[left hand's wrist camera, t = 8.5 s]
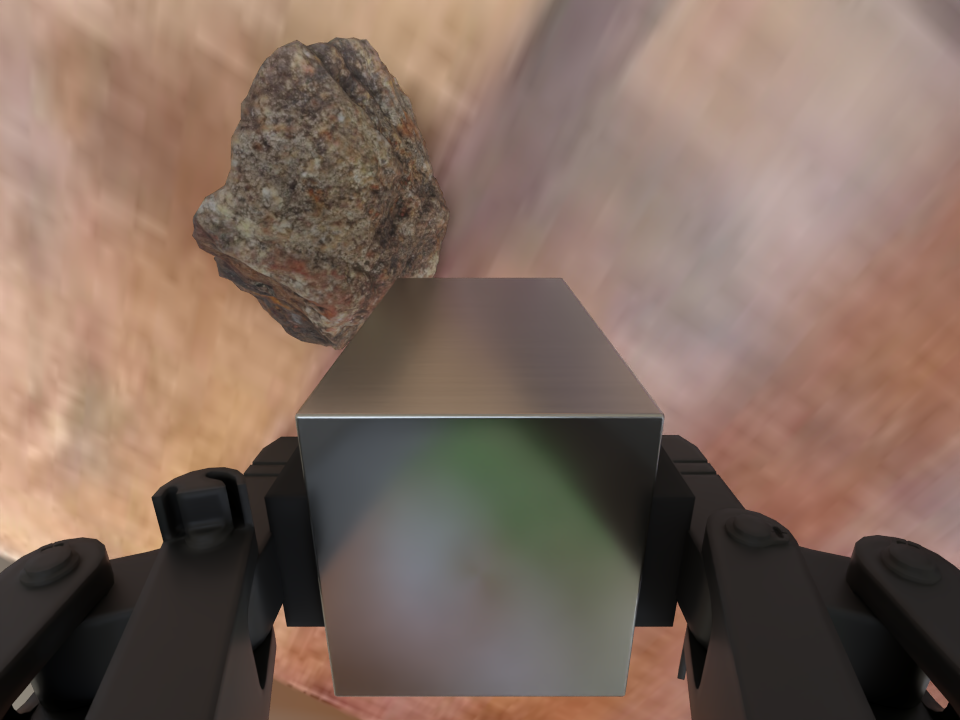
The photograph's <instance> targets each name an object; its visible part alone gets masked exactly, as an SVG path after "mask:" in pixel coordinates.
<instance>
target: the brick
mask: <svg viewBox="0 0 960 720" xmlns="http://www.w3.org/2000/svg"><path fill="white" fill-rule="evenodd" d="M295 419H296V426H297V434H298V441H299V448H300V455H301V462H302V469H303V476H304V483H305V490H306V497H307V504H308V511H309V518H310V525H311V532H312V539H313V546H314V553H315V560H316V567H317V574H318V581H319V588H320V595H321V602H322V609H323V616H324V623H325V630H326V637H327V644H328V651H329V659H330V666H331V673H332V680H333V687H334V694H335V696H624V695H625V691H626V684H627V677H628V670H629V663H630V656H631V649H632V642H633V635H634V628H635V621H636V614H637V607H638V600H639V593H640V586H641V579H642V572H643V565H644V558H645V551H646V544H647V537H648V529H649V522H650V515H651V508H652V501H653V494H654V487H655V480H656V473H657V466H658V459H659V452H660V445H661V438H662V431H663V424H664V414H663V413H662V411H661V410H660V409H659V407H658V406H657V405H656V403H655V402H654V400H653V399H652V398H651V396H650V395H649V394H648V392H647V391H646V390H645V388H644V387H643V386H642V384H641V383H640V382H639V380H638V379H637V378H636V376H635V375H634V374H633V372H632V371H631V370H630V368H629V367H628V366H627V364H626V363H625V362H624V360H623V359H622V358H621V356H620V355H619V354H618V352H617V351H616V349H615V348H614V347H613V345H612V344H611V343H610V341H609V340H608V339H607V337H606V336H605V335H604V333H603V332H602V331H601V329H600V328H599V327H598V325H597V324H596V323H595V321H594V320H593V319H592V317H591V316H590V315H589V313H588V312H587V311H586V309H585V308H584V307H583V305H582V304H581V303H580V301H579V300H578V298H577V297H576V296H575V294H574V293H573V292H572V290H571V289H570V288H569V286H568V285H567V284H566V282H565V281H564V280H563V278H397V279H396V281H395V282H394V284H393V285H392V286H391V288H390V289H389V290H388V292H387V293H386V294H385V296H384V297H383V298H382V300H381V301H380V302H379V304H378V305H377V306H376V308H375V309H374V310H373V312H372V313H371V314H370V316H369V317H368V318H367V320H366V321H365V322H364V324H363V325H362V326H361V328H360V329H359V330H358V332H357V333H356V334H355V336H354V337H353V338H352V340H351V341H350V342H349V344H348V345H347V346H346V348H345V349H344V350H343V352H342V353H341V354H340V356H339V357H338V358H337V360H336V361H335V363H334V364H333V365H332V367H331V368H330V369H329V371H328V372H327V373H326V375H325V376H324V377H323V379H322V380H321V381H320V383H319V384H318V385H317V387H316V388H315V389H314V391H313V392H312V393H311V395H310V396H309V397H308V399H307V400H306V401H305V403H304V404H303V405H302V407H301V408H300V409H299V411H298V412H297V413H296V416H295Z"/></svg>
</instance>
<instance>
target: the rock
mask: <svg viewBox="0 0 960 720" xmlns="http://www.w3.org/2000/svg"><path fill="white" fill-rule="evenodd" d="M448 220H449V210H448V208H447V207H446V206H445V200H444V198H443V193H442V191H441V190H440V187H439V185H438V183H437V180H436V178H434V177H433V172H432V167H431V164H430V161H429V156H428V153H427V149H426V146H425V141H424V139H423V138H422V136H421V133H420V131H419V129H418V128H417V124H416V120H415V116H414V113H413V110H412V105H411V102H410V99H409V97H408V96H407V95H406V94H405V93H404V92H403V91H402V89H401V88H400V86H399V84H398V82H397V80H396V78H395V77H394V76H393V75H391V74H390V73H389V71H388V69H387V67H386V65H385V64H384V63H383V62H381V60H380V58H379V55H378V53H377V51H376V50H375V49H374V48H373V47H372V46H371V45H370V44H369V42H368V41H367V40H359V39H357V38H354V37H353V38H348V39H344V38H335V39H333V40H331V41H330V42H328V43H316V44H312V45H309V46H305V45H304V44H302V43H301V42H299V41H298V40H296V41H294V42H291V43H289V44H287V45H284V46H282V47H280V48H278V49H277V50H276V51H275V52H274V53H273V54H272V55H271V56H270V57H268V58H267V59H266V60H265V61H264V63H263V64H262V66H261V67H260V69H259V71H258V73H257V75H256V77H255V79H254V81H253V83H252V86H251V88H250V90H249V93H248V95H247V97H246V98H245V99H244V101H243V102H242V103H241V120H240V122H239V124H238V126H237V128H236V130H235V132H234V134H233V136H232V142H231V170H230V172H229V175H228V178H227V181H226V184H225V186H223V187H222V188H220V189H219V190H217V191H215V192H214V193H212V194H211V195H209V196H207V197H205V199H204V201H203V202H202V204H201V206H200V207H199V209H198V211H197V212H196V214H195V215H194V217H193V224H194V232H193V237H194V238H195V240H196V241H197V244H198V246H199V248H201V249H202V250H204V251H206V252H208V253H210V254H212V255H214V256H215V257H214V259H215V261H216V263H217V267H218V272H219V276H220V277H223V278H226V279H229V280H231V281H232V282H233V283H234V284H235V285H236V286H237V287H238V288H239V289H240V290H242V291H245V292H248V293H250V294H252V295H253V296H255V297H256V298H257V299H258V301H259V303H260V304H261V306H262V307H263V309H265V310H266V311H267V312H268V313H269V314H270V315H271V317H273V318H274V319H275V320H276V321H278V322H279V323H280V324H281V325H282V327H283V328H284V329H285V331H286V332H287V333H288V334H289V335H291V336H293V337H295V338H297V339H299V340H301V341H304V342H309V343H315V344H321V345H324V346H332V347H333V348H334V349H335V350H337V349H342V348H344V347H345V346H346V345H347V344H348V342H349V341H351V340H352V338H353V337H354V336H355V334H356V333H357V332H358V330H359V329H360V328H361V326H362V325H363V324H364V322H365V321H366V320H367V318H368V317H369V316H370V314H371V313H372V312H373V310H374V309H375V308H376V306H377V305H378V304H379V302H380V301H381V300H382V298H383V297H384V296H385V294H386V293H387V292H388V290H389V289H390V288H391V286H392V285H393V284H394V282H395V281H396V279H397V278H433V276H434V274H435V273H436V266H437V264H438V263H439V253H440V249H441V243H442V241H443V238H444V236H445V233H446V229H447V224H448Z"/></svg>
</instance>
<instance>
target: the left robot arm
mask: <svg viewBox="0 0 960 720" xmlns="http://www.w3.org/2000/svg"><path fill="white" fill-rule="evenodd" d="M152 501H153V505H154V508H155V512H156V516H157V520H158V523H159V527H160V531H161V534H162V538H163V544H162V546H161V548H160V549H157V550H153V551H149V552H145V553H140V554H135V555H130V556H126V557H121V558H116V559H111V560H109V557H108V554H107V551H106V548H105V545H104V544H102V543H101V542H100V541H98V540H97V539H91V538H83V537H82V538H75V539H67V540H62V541H58V542H55V543H53V544H52V543H51V544H48V545H45V546H42V547H40V548H39V549H37V550H35V551H33V552H31V553H29V554H27V555H25V556H23V557H21V558H20V559H18V560H17V561H16V562H14V563H13V564H12V565H10V566H9V567H7V568H6V569H5V570H4V571H2V572H1V573H0V720H268V719H269V710H270V701H271V691H272V682H273V673H274V664H275V655H276V640H275V633H274V628H273V623H274V621H275V619H276V617H277V615H278V612H279V610H280V608H281V606H282V604H283V607H284V613H285V618H286V624H287V627H325V623H324V616H323V609H322V602H321V595H320V588H319V581H318V574H317V567H316V560H315V553H314V546H313V539H312V532H311V525H310V518H309V511H308V504H307V497H306V490H305V483H304V476H303V469H302V462H301V455H300V448H299V441H298V437H280V438H279V439H277V440H275V441H274V442H272V443H271V444H269V445H268V446H266V447H265V448H263V449H262V451H261V452H260V453H259V454H258V456H257V457H256V458H255V460H254V461H253V464H252V465H250V466H249V467H248V469H247V470H246V471H245V473H244V475H243V474H242V473H240V472H239V471H238V470H235V469H230V468H226V467H219V468H206V469H202V470H197V471H192V472H189V473H187V474H184V475H182V476H179V477H177V478H174V479H173V480H171V481H170V482H168V483H166V484H165V485H163V486H162V487H160V488H159V489H158V491H157V492H156V493H155V494H154V495H153V496H152ZM677 602H678V604H679V606H680V608H681V611H682V613H683V615H684V617H685V619H686V622H687V628H686V633H685V639H684V644H683V649H682V655H681V660H680V665H679V671H678V679H683V680H684V679H685V674H686V672H687V681H688V690H689V699H690V708H691V718H692V720H960V570H959V569H958V568H956V567H955V566H954V565H953V564H951V563H950V562H948V561H947V560H945V559H944V558H943V557H941V556H940V555H938V554H937V553H934V552H932V551H930V550H928V549H926V548H924V547H922V546H921V545H919V544H916V543H914V542H911V541H906V540H904V539H900V538H896V537H888V536H881V535H875V536H867V537H863V538H861V539H860V540H859V541H858V542H856V544H855V547H854V550H853V553H852V556H851V558H850V557H845V556H840V555H835V554H831V553H826V552H821V551H816V550H811V549H808V548H804V547H800V546H799V545H798V543H797V541H796V539H795V538H794V537H793V535H792V534H791V533H790V531H789V530H788V529H786V528H785V527H784V526H782V525H781V524H780V523H778V522H777V521H776V520H773V519H771V518H769V517H767V516H765V515H763V514H760V513H757V512H753V511H749V510H746V509H745V508H744V507H743V506H742V504H741V503H740V502H739V500H738V499H737V498H736V497H735V495H734V494H733V493H732V491H731V490H730V489H729V488H728V486H727V485H726V484H725V482H724V481H723V480H722V479H721V477H720V476H719V475H716V471H715V470H714V468H713V467H712V466H711V464H710V463H708V462H707V459H706V458H705V457H704V455H703V454H702V453H701V452H700V450H699V449H698V448H697V447H696V446H695V445H693V444H692V443H690V442H689V441H687V440H685V439H684V438H682V437H681V436H679V435H662V438H661V445H660V452H659V459H658V466H657V473H656V480H655V487H654V494H653V501H652V508H651V515H650V522H649V529H648V537H647V544H646V551H645V558H644V565H643V572H642V579H641V586H640V593H639V600H638V607H637V614H636V621H635V627H673V622H674V616H675V611H676V605H677ZM930 680H931V681H932V683H933V684H934V685H935V686H936V687H937V689H938V690H939V691H940V692H941V693H942V694H943V696H944V697H945V698H946V699H947V700H948V701H949V703H948V705H947V707H946V708H945V709H944V708H942V707H941V706H940V705H939V704H938V703H937V702H936V701H935V700H934V699H933V697H932V696H931V695H930V694H929V692H928V691H927V690H926V688H927V686H928V684H929V681H930ZM30 683H31V685H32V687H33V689H34V693H33V694H32V695H31V696H30V698H29V699H28V700H27V701H26V702H25V703H24V704H23V705H22V706H21V707H20V708H19V709H18V710H14V708H13V706H12V704H13V703H14V701H15V700H16V699H17V698H18V697H19V696H20V694H21V693H22V692H23V691H24V690H25V688H26V687H27V686H28V685H29V684H30Z"/></svg>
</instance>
